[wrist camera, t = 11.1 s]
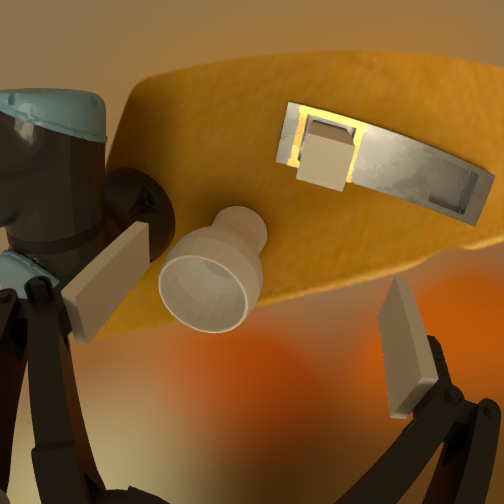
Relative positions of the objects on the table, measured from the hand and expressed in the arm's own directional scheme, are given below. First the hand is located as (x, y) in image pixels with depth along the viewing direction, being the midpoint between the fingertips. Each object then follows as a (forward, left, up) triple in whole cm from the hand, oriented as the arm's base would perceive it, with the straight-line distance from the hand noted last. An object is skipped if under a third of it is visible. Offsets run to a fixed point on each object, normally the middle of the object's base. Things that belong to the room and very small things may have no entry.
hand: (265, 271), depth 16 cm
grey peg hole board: (+10, +3, -25) cm, 27 cm away
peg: (+2, +3, -24) cm, 25 cm away
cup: (-6, -12, -25) cm, 28 cm away
